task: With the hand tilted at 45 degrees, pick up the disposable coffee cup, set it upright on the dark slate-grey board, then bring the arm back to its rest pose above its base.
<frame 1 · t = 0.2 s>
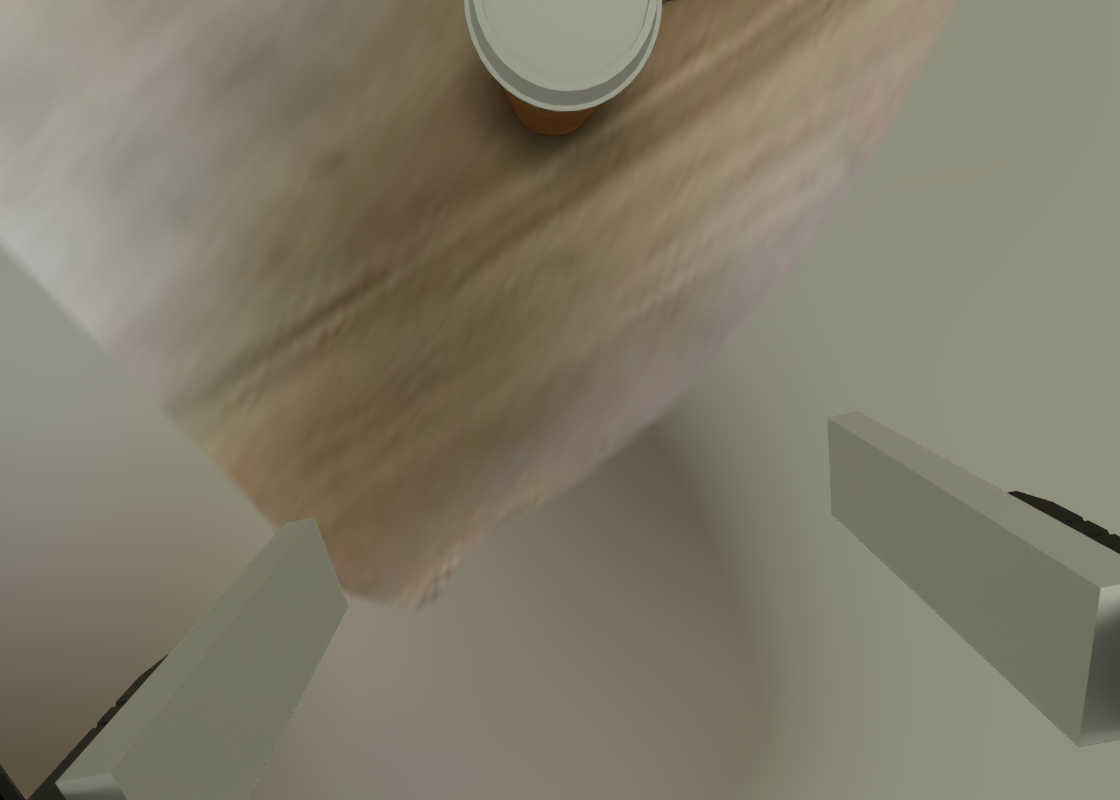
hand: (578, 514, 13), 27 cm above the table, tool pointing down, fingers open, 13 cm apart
disposable coffee cup: (553, 87, 36), on the table
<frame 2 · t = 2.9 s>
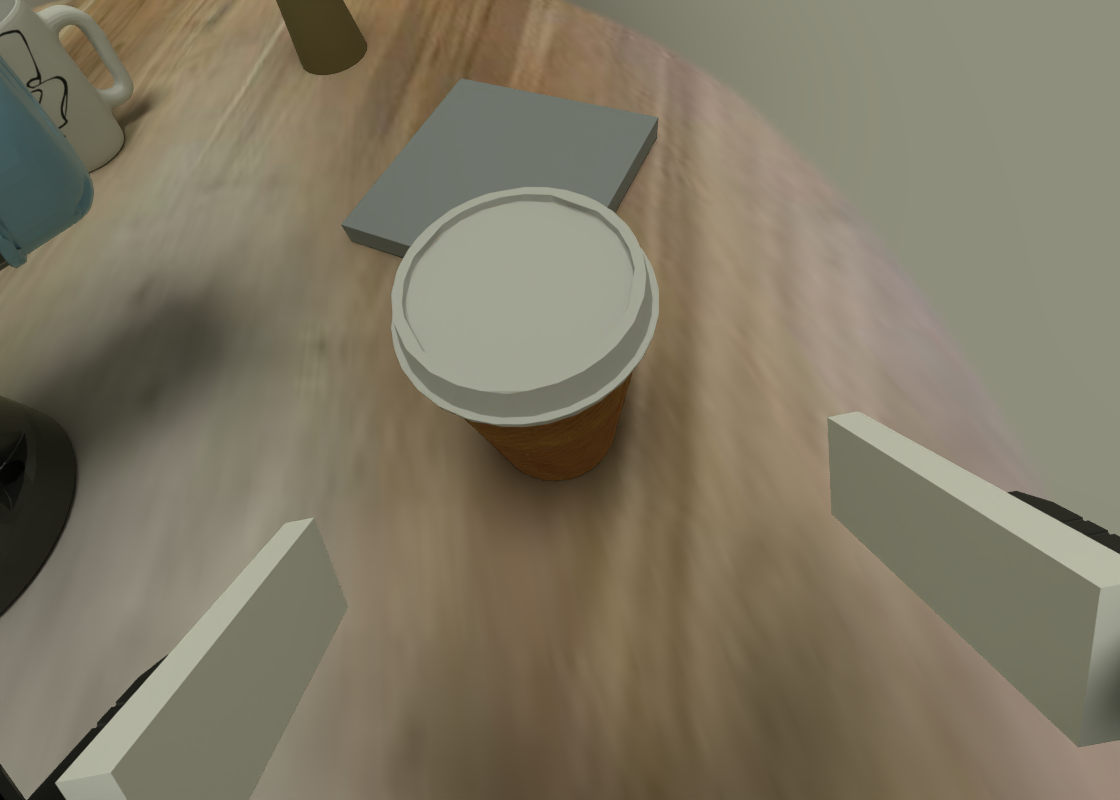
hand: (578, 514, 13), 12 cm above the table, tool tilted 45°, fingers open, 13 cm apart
mug: (106, 142, 45), on the table
disposable coffee cup: (557, 426, 28), on the table
olive pawn: (335, 56, 47), on the table
slate board: (507, 187, 37), on the table
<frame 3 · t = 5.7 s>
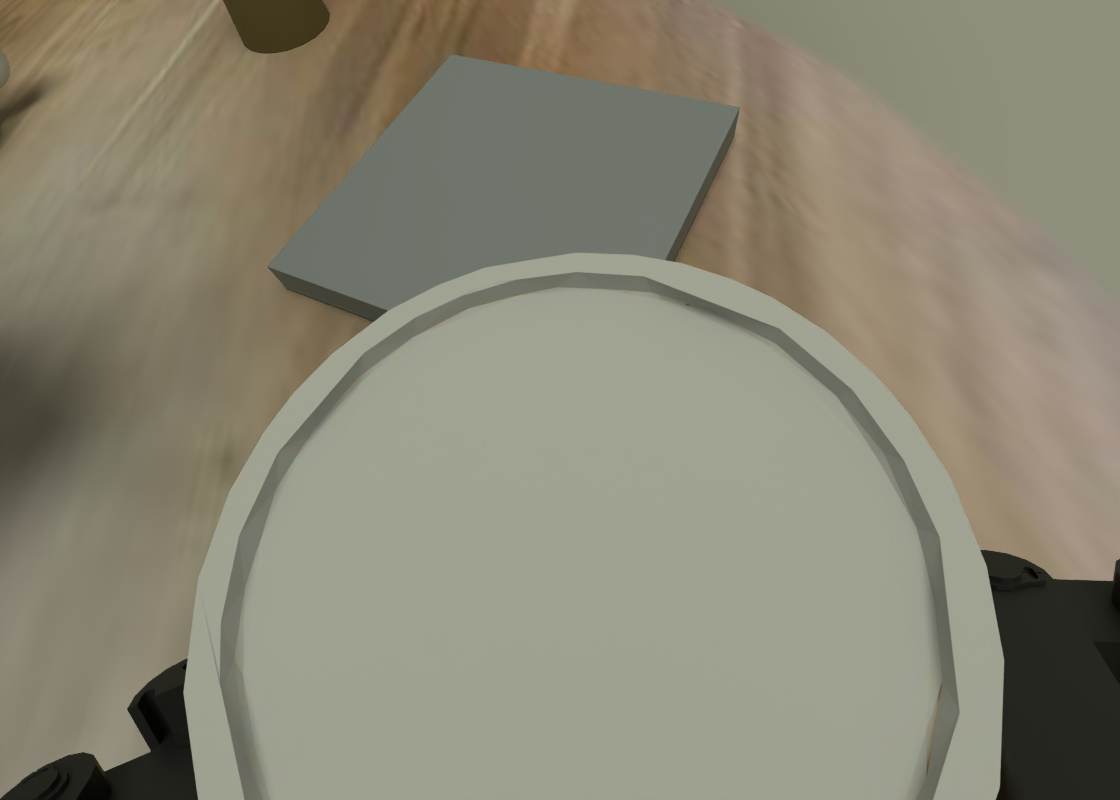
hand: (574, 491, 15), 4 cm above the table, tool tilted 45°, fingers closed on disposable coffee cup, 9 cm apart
disposable coffee cup: (603, 626, 17), on the table, touching gripper
olive pawn: (287, 29, 35), on the table
slate board: (516, 210, 25), on the table
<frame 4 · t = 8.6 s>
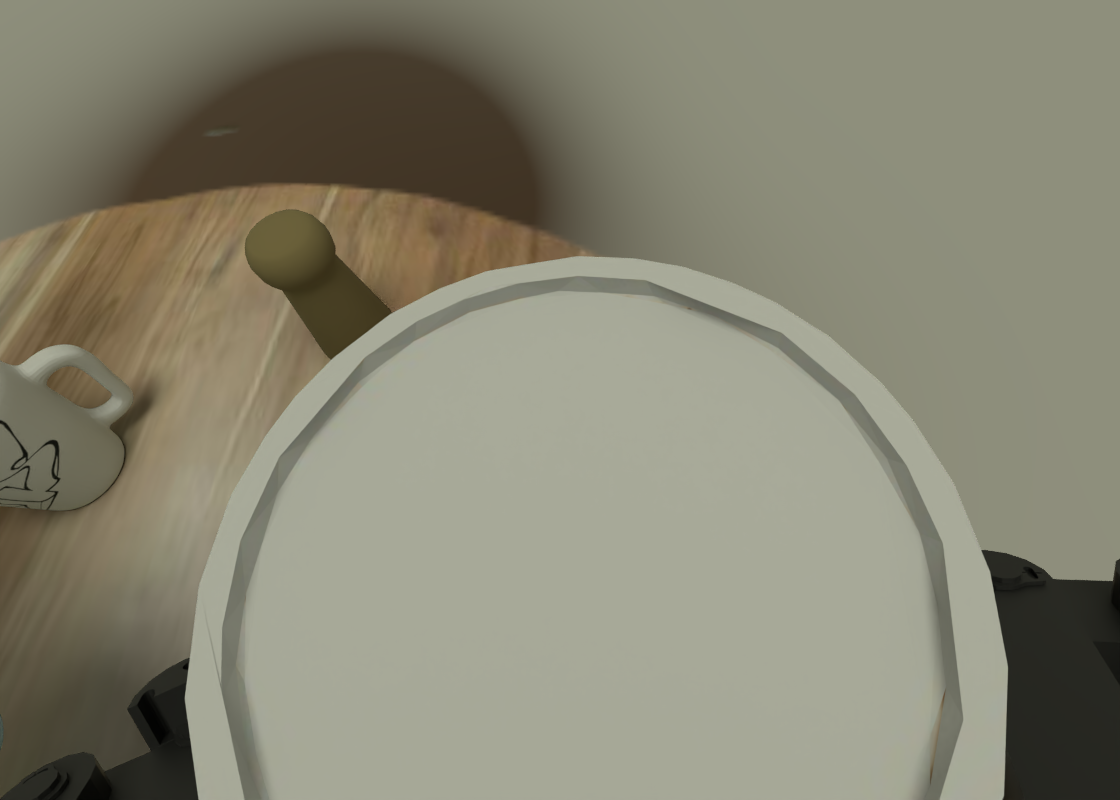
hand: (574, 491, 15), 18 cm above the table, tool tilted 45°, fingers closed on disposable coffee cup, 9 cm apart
mug: (105, 454, 39), on the table
disposable coffee cup: (604, 628, 17), point 14 cm above the table, touching gripper
olive pawn: (359, 333, 42), on the table
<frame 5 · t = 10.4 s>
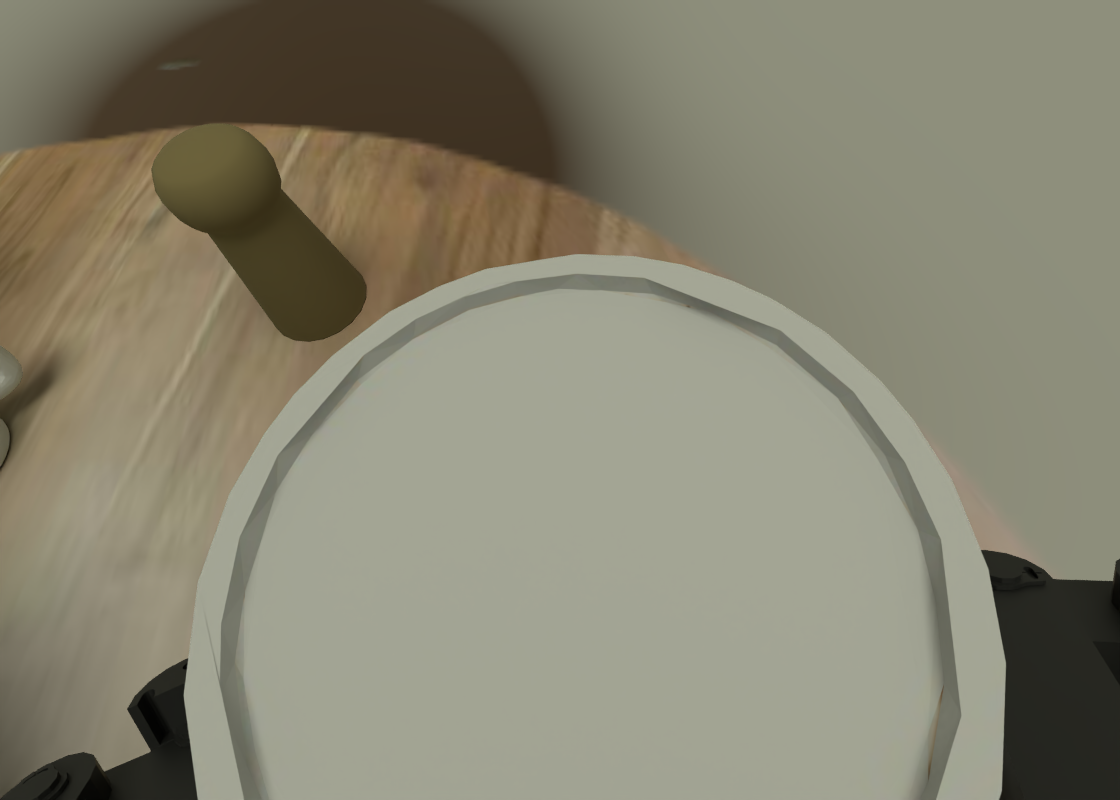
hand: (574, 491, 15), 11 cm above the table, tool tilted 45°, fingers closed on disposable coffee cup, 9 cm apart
disposable coffee cup: (603, 627, 17), point 7 cm above the table, touching gripper
olive pawn: (321, 302, 33), on the table
when the fingers open (7 cm above the table, at t = 11.7 s): disposable coffee cup drops 1 cm, resting on slate board.
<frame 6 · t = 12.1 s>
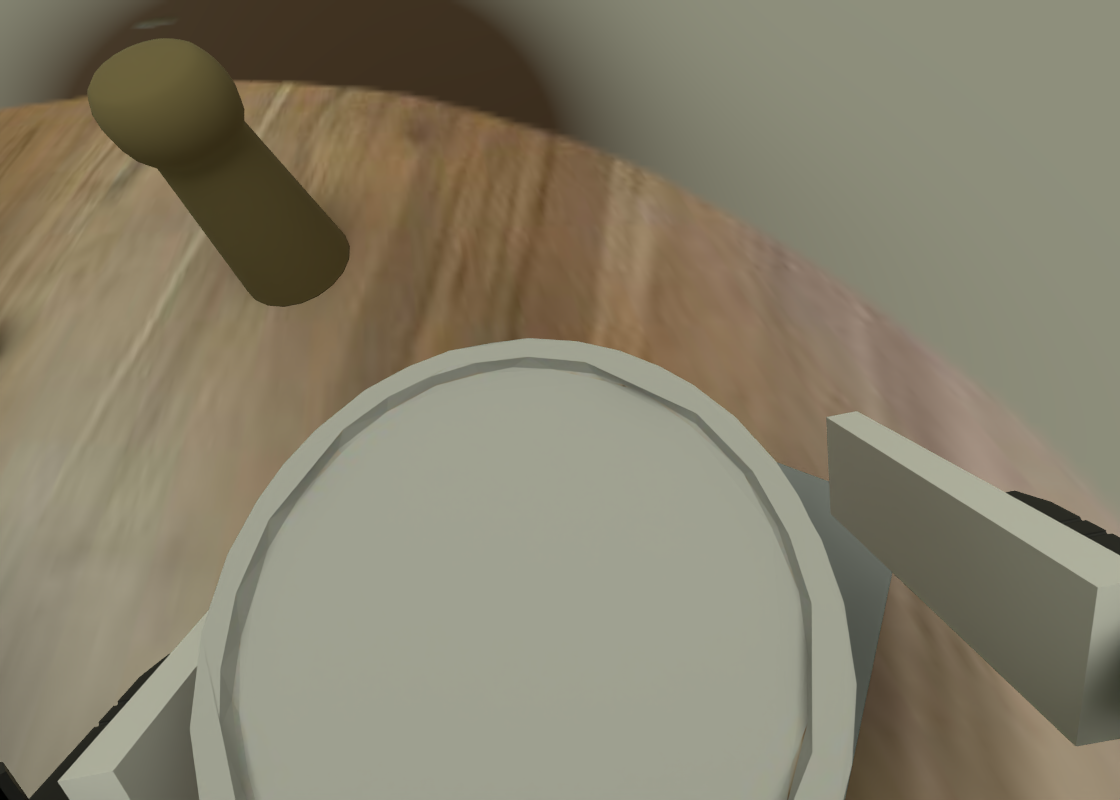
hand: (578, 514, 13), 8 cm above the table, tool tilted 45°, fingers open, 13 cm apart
disposable coffee cup: (579, 643, 18), point 1 cm above the table, touching slate board
olive pawn: (299, 265, 29), on the table
slate board: (605, 631, 19), on the table
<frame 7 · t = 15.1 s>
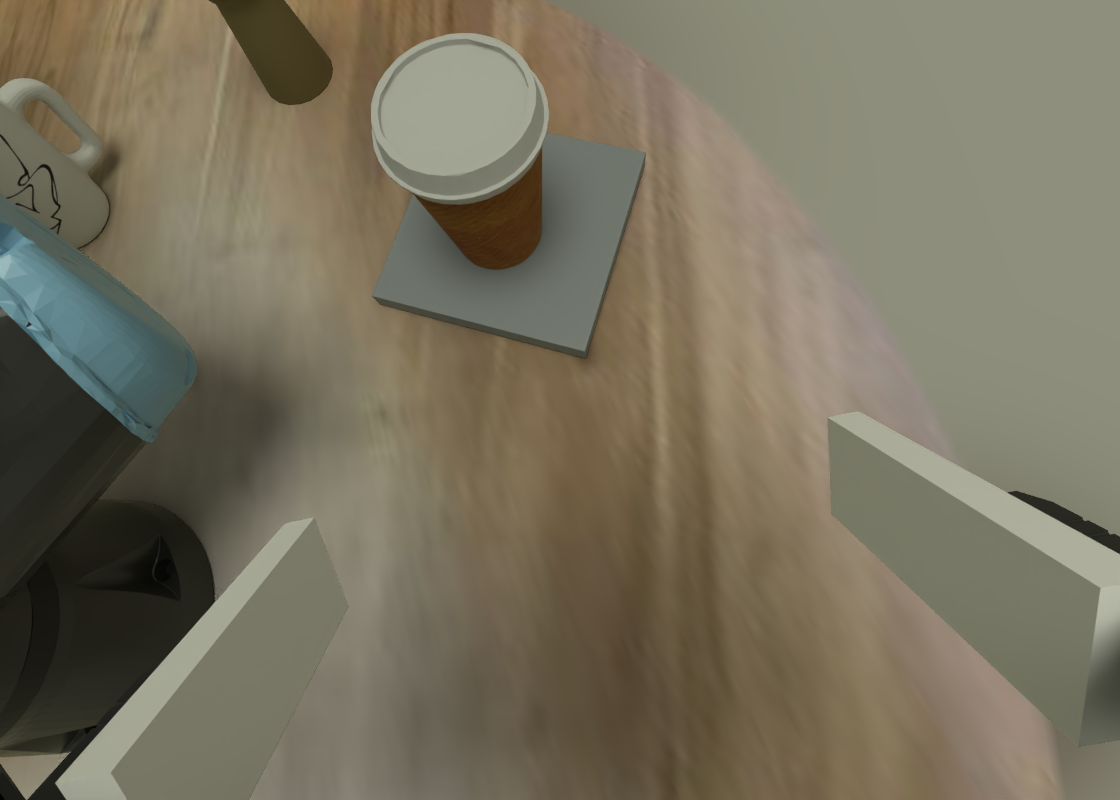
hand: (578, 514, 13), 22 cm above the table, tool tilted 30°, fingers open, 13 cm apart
mug: (89, 204, 44), on the table
disposable coffee cup: (500, 232, 38), point 1 cm above the table, touching slate board
olive pawn: (300, 77, 45), on the table
slate board: (513, 234, 40), on the table
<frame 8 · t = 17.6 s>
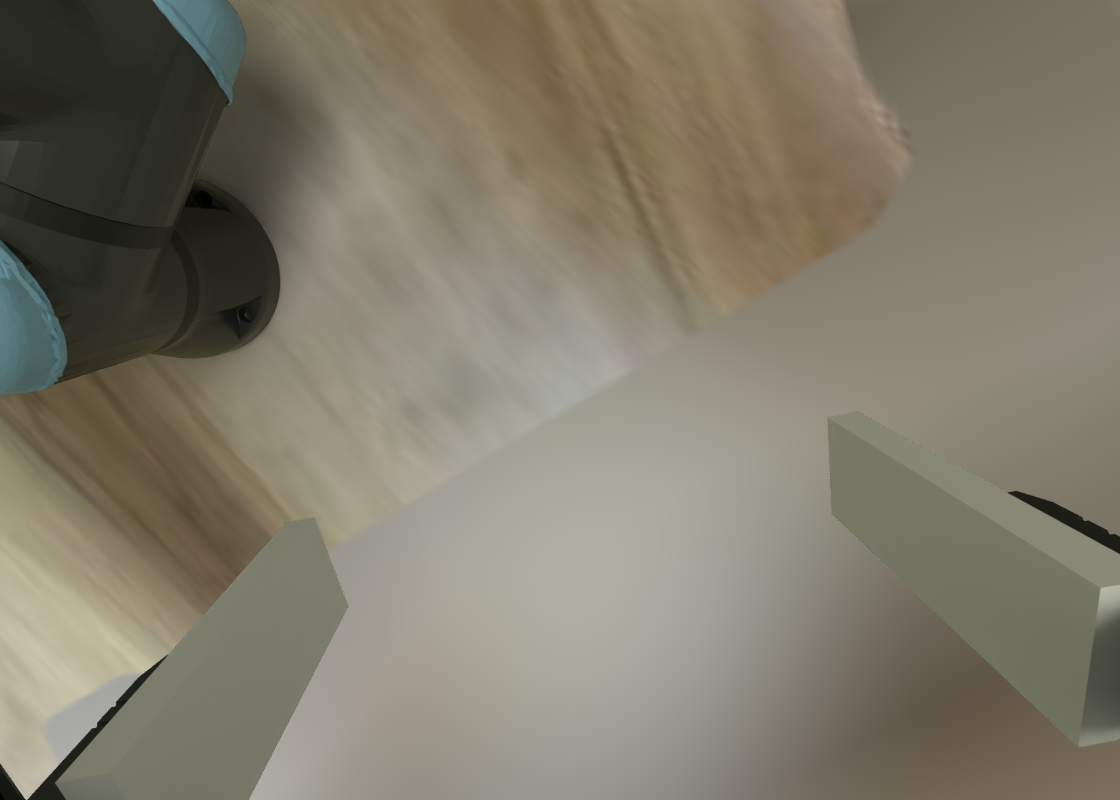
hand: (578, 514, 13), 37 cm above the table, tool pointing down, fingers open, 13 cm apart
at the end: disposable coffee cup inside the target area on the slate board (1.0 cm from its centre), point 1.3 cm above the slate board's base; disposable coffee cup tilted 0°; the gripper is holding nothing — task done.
